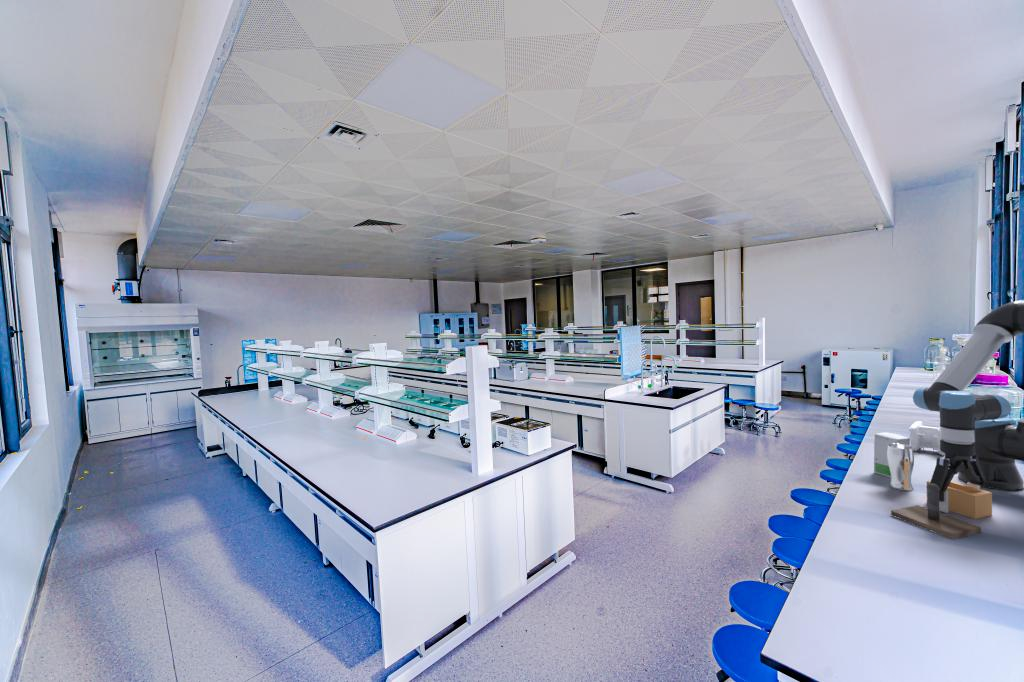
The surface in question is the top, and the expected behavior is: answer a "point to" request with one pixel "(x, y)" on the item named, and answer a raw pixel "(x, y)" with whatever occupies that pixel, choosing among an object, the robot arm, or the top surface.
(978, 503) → the orange link
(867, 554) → the top surface
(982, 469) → the robot arm
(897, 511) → the keeper board
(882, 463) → the skincare box
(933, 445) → the cable organizer
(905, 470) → the beer glass
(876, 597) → the top surface
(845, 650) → the top surface
